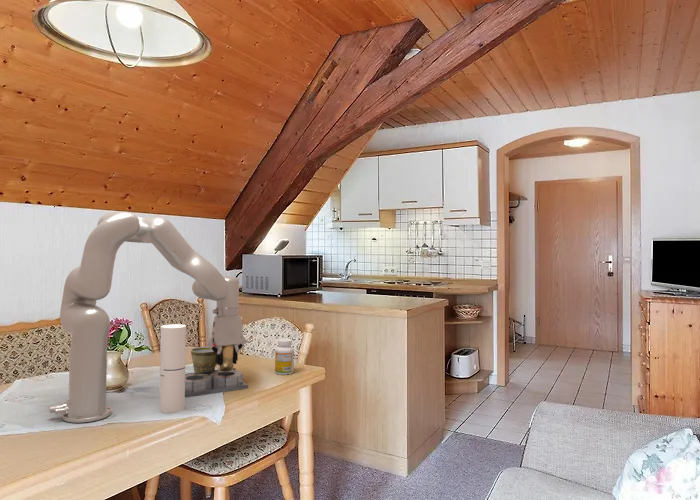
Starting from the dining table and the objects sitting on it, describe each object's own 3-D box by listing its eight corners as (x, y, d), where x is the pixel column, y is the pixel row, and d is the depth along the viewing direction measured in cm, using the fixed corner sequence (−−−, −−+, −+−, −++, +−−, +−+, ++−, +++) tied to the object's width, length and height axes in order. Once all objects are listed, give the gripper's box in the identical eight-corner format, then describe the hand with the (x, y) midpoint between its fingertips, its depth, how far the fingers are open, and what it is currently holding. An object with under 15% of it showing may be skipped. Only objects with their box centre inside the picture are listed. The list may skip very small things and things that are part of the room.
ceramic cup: (185, 378, 187) (185, 351, 187) (199, 371, 196) (199, 345, 196) (217, 381, 184) (217, 353, 183) (230, 374, 193) (230, 348, 193)
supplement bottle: (280, 369, 202) (281, 337, 202) (296, 371, 199) (297, 339, 199) (271, 374, 195) (272, 340, 195) (287, 376, 193) (288, 342, 193)
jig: (183, 397, 164) (183, 384, 164) (172, 387, 175) (173, 375, 175) (247, 388, 176) (248, 376, 176) (234, 379, 187) (234, 367, 187)
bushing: (222, 372, 175) (222, 343, 175) (218, 369, 179) (218, 340, 179) (235, 370, 178) (235, 341, 177) (230, 367, 181) (231, 339, 181)
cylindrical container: (176, 414, 148) (178, 328, 148) (154, 412, 150) (155, 327, 149) (188, 406, 155) (190, 324, 155) (167, 404, 157) (169, 323, 156)
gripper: (207, 315, 170) (206, 369, 170) (254, 312, 179) (253, 363, 180) (200, 312, 176) (199, 364, 177) (246, 309, 186) (245, 359, 186)
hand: (226, 363), depth 178 cm, fingers closed on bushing, 4 cm apart
